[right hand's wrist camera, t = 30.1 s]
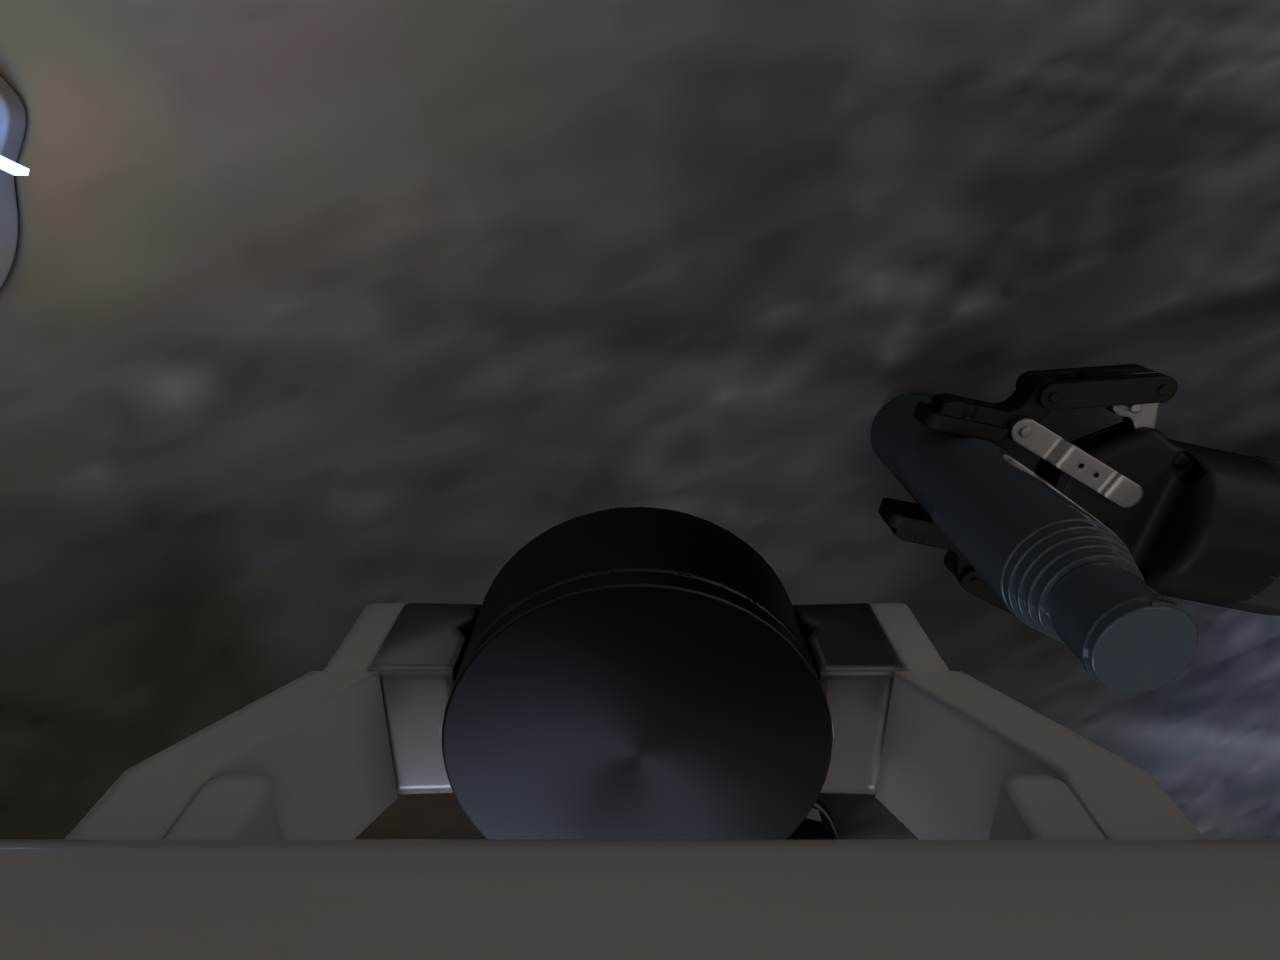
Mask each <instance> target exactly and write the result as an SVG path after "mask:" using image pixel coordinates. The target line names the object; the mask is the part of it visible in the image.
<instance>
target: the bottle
mask: <svg viewBox="0 0 1280 960" xmlns="http://www.w3.org/2000/svg"><path fill="white" fill-rule="evenodd" d="M932 398H933V397H931V396H928V395H924V394H908V395H904V396H901V397H898V398H896V399H894V400H893V401H891V402H890V403H888V404H887V405H886V406H885V407H884V408H883V409H882V410H881V411H880V412H879V414H878V415H877V417H876V419H875V421H874V423H873V426H872V430H871V442H872V446H873V449H874V451H875V453H876V455H877V456H878V457H879V458H880V460H881V461H882V462H883V463H884V464H885V465H886V467H887V468H888V469H889V470H890V471H891V473H892V474H893V475H894V476H895V477H896V478H897V480H898V481H899V482H900V483H901V484H902V485H903V487H904V488H905V489H906V490H907V491H908V492H909V494H910V495H911V496H912V497H913V498H914V499H915V501H916V502H917V503H918V504H919V505H920V507H921V508H922V509H923V510H924V511H925V512H926V514H927V515H928V516H929V517H930V518H931V519H932V521H933V522H934V523H935V524H936V525H937V526H938V528H939V529H940V530H941V531H942V532H943V533H944V535H945V536H946V537H947V538H948V539H949V541H950V542H951V543H952V544H953V545H954V546H955V548H956V549H957V550H958V551H959V552H960V553H961V555H962V556H963V557H964V558H965V559H966V560H967V562H968V563H969V564H970V565H971V566H972V567H973V569H974V570H975V571H976V572H977V573H978V575H979V576H980V577H981V578H982V579H983V580H984V582H985V583H986V584H987V585H988V586H989V587H990V589H991V590H992V591H993V592H994V593H995V594H996V596H997V597H998V598H999V599H1000V600H1001V601H1002V603H1003V604H1004V605H1005V606H1006V607H1007V609H1008V610H1009V611H1010V612H1011V613H1012V614H1013V615H1014V616H1016V617H1017V618H1018V619H1020V620H1021V621H1022V622H1023V623H1024V624H1026V625H1027V626H1029V627H1031V628H1033V629H1035V630H1037V631H1039V632H1041V633H1043V634H1045V635H1047V636H1049V637H1051V638H1053V639H1055V640H1057V641H1059V642H1061V643H1064V644H1066V645H1067V646H1068V647H1069V648H1070V650H1071V651H1072V652H1073V653H1074V654H1075V655H1076V656H1077V657H1078V658H1079V659H1080V661H1081V662H1082V663H1083V664H1084V667H1085V669H1086V671H1087V672H1088V673H1089V674H1090V676H1091V677H1092V678H1093V679H1094V680H1095V681H1097V682H1098V683H1100V684H1101V685H1103V686H1104V687H1107V688H1110V689H1112V690H1115V691H1118V692H1123V693H1143V692H1147V691H1151V690H1154V689H1157V688H1160V687H1162V686H1164V685H1166V684H1168V683H1169V682H1171V681H1172V680H1174V679H1175V678H1177V677H1178V676H1179V675H1180V674H1181V673H1182V672H1183V671H1184V670H1185V669H1186V668H1187V667H1188V665H1189V664H1190V662H1191V661H1192V659H1193V657H1194V655H1195V652H1196V649H1197V644H1198V630H1197V626H1196V622H1195V621H1194V619H1193V618H1192V617H1191V615H1190V614H1189V613H1188V612H1187V611H1185V610H1184V609H1183V608H1182V607H1181V606H1179V605H1178V604H1176V603H1175V602H1174V601H1172V600H1171V599H1167V598H1164V597H1163V596H1162V595H1161V594H1159V593H1158V592H1157V591H1156V590H1154V589H1153V588H1152V587H1151V586H1149V585H1148V584H1147V583H1146V582H1145V581H1144V578H1143V575H1142V574H1141V572H1140V570H1139V568H1138V566H1137V565H1136V563H1135V561H1134V559H1133V557H1132V555H1131V554H1130V551H1129V550H1128V548H1127V546H1126V545H1125V544H1124V542H1123V541H1122V540H1121V539H1120V538H1119V537H1118V536H1117V535H1116V533H1115V532H1114V531H1112V530H1111V529H1110V528H1109V527H1107V526H1106V525H1105V524H1103V523H1102V522H1101V521H1099V520H1098V519H1097V518H1095V517H1094V516H1093V515H1091V514H1090V513H1089V512H1087V511H1086V510H1085V509H1083V508H1082V507H1081V506H1079V505H1078V504H1076V503H1075V502H1074V501H1072V500H1071V499H1070V498H1068V497H1067V496H1066V495H1064V494H1063V493H1062V492H1060V491H1059V490H1058V489H1056V488H1055V487H1054V486H1052V485H1051V484H1050V483H1048V482H1047V481H1046V480H1044V479H1043V478H1042V477H1040V476H1039V475H1038V474H1036V473H1035V472H1033V471H1032V470H1031V469H1029V468H1028V467H1027V466H1025V465H1024V464H1023V463H1021V462H1020V461H1019V460H1017V459H1016V458H1015V457H1013V456H1012V455H1011V454H1009V453H1008V452H1007V451H1005V450H1004V449H1003V448H1001V447H1000V446H999V445H997V444H996V443H994V442H992V441H988V440H984V439H978V438H973V437H969V436H964V435H959V434H954V433H949V432H945V431H940V430H935V429H932V428H929V427H926V426H924V425H923V424H921V423H920V422H919V421H918V420H917V419H916V418H915V417H913V414H914V412H915V409H916V406H917V403H918V402H925V403H931V401H932Z"/></svg>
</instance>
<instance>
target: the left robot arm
mask: <svg viewBox="0 0 1280 960" xmlns="http://www.w3.org/2000/svg"><path fill="white" fill-rule="evenodd" d="M1176 391H1177V382H1176V381H1175V379H1173V378H1172V377H1169V376H1166V375H1164V374H1161V373H1158V372H1156V371H1153V370H1150V369H1148V368H1145V367H1142V366H1140V365H1137V364H1127V365H1112V366H1098V367H1083V368H1068V369H1054V370H1039V371H1028V372H1025V373H1023V374H1022V375H1021V376H1020V377H1019V378H1018V380H1017V382H1016V390H1015V391H1014V393H1013V394H1012V395H1011V396H1010V397H1009V398H1008V399H1007V400H1005V401H1003V402H1001V403H989V402H984V401H979V400H975V399H970V398H965V397H961V396H956V395H951V394H946V393H943V394H937V395H933V398H932V401H931V403H925V402H918V403H917V406H916V409H915V412H914V414H913V417H915V418H916V419H917V420H918V421H919V422H920V423H921V424H923V425H924V426H926V427H929V428H932V429H935V430H940V431H945V432H949V433H954V434H959V435H964V436H969V437H973V438H978V439H984V440H988V441H992V442H997V443H1002V444H1003V442H1004V440H1005V438H1007V439H1011V440H1014V441H1015V442H1017V443H1018V444H1020V445H1022V446H1023V447H1025V448H1026V449H1028V450H1030V451H1031V452H1033V453H1035V454H1036V455H1038V456H1040V457H1041V458H1040V461H1039V463H1038V465H1037V468H1036V470H1035V473H1036V474H1038V475H1039V476H1040V477H1042V478H1043V479H1044V480H1046V481H1047V482H1048V483H1050V484H1051V485H1052V486H1054V487H1055V488H1056V489H1058V490H1059V491H1060V492H1062V493H1063V494H1064V495H1066V496H1067V497H1068V498H1070V499H1071V500H1072V501H1074V502H1075V503H1076V504H1078V505H1079V506H1081V507H1082V508H1083V509H1085V510H1086V511H1087V512H1089V513H1090V514H1091V515H1093V516H1094V517H1095V518H1097V519H1098V520H1099V521H1101V522H1102V523H1103V524H1105V525H1106V526H1107V527H1109V528H1110V529H1111V530H1112V531H1114V532H1115V533H1116V535H1117V536H1118V537H1119V538H1120V539H1121V540H1122V541H1123V542H1124V544H1125V545H1126V546H1127V548H1128V550H1129V551H1130V554H1131V555H1132V557H1133V559H1134V561H1135V563H1136V565H1137V566H1138V568H1139V570H1140V572H1141V574H1142V575H1143V578H1144V581H1145V582H1146V583H1147V584H1148V585H1149V586H1151V587H1152V588H1153V589H1154V590H1156V591H1157V592H1158V593H1159V594H1161V595H1164V596H1170V597H1175V598H1180V599H1185V600H1190V601H1195V602H1200V603H1205V604H1211V605H1216V606H1221V607H1226V608H1232V609H1237V610H1242V611H1247V612H1252V613H1258V614H1265V615H1279V616H1280V462H1279V461H1277V460H1275V459H1271V458H1266V457H1258V456H1256V457H1250V456H1245V455H1241V454H1236V453H1231V452H1226V451H1221V450H1217V449H1212V448H1207V447H1202V446H1198V445H1193V444H1188V443H1184V442H1179V441H1174V440H1170V439H1167V438H1166V437H1165V436H1164V435H1163V434H1162V433H1161V432H1160V431H1158V430H1157V429H1154V427H1155V422H1156V417H1157V412H1158V407H1159V403H1163V402H1166V401H1168V400H1170V399H1171V398H1172V397H1173V396H1174V395H1175V393H1176ZM1090 407H1105V408H1106V409H1107V410H1109V411H1111V412H1113V413H1115V414H1117V415H1119V416H1122V417H1123V422H1121V423H1118V424H1115V425H1113V426H1110V427H1108V428H1105V429H1102V430H1100V431H1097V432H1095V433H1092V434H1089V435H1087V436H1084V437H1082V438H1079V439H1076V440H1074V441H1071V442H1068V441H1066V440H1065V439H1063V438H1062V437H1060V436H1058V435H1057V434H1055V433H1053V432H1052V431H1050V430H1049V429H1047V428H1045V427H1044V426H1042V425H1040V424H1039V423H1040V422H1041V421H1042V420H1043V419H1044V418H1045V416H1046V415H1047V414H1048V413H1049V412H1050V411H1051V410H1060V409H1075V408H1090ZM878 512H879V514H880V515H881V517H882V518H883V520H884V521H885V522H886V524H887V525H888V526H889V528H890V529H891V530H892V532H893V533H894V535H895V536H897V537H899V538H900V539H902V540H903V541H908V542H913V543H914V542H915V543H918V544H923V545H928V546H933V547H938V548H944V549H948V553H947V554H946V556H945V558H944V564H945V565H946V567H947V568H948V569H949V571H951V572H952V573H953V574H954V575H955V577H956V578H957V579H958V581H959V583H960V585H961V586H962V587H963V588H964V590H965V591H967V592H969V593H971V594H973V595H975V596H977V597H979V598H981V599H983V600H985V601H987V602H989V603H991V604H993V605H995V606H997V607H999V608H1001V609H1003V610H1005V611H1007V612H1009V613H1011V612H1010V611H1009V610H1008V609H1007V607H1006V606H1005V605H1004V604H1003V603H1002V601H1001V600H1000V599H999V598H998V597H997V596H996V594H995V593H994V592H993V591H992V590H991V589H990V587H989V586H988V585H987V584H986V583H985V582H984V580H983V579H982V578H981V577H980V576H979V575H978V573H977V572H976V571H975V570H974V569H973V567H972V566H971V565H970V564H969V563H968V562H967V560H966V559H965V558H964V557H963V556H962V555H961V553H960V552H959V551H958V550H957V549H956V548H955V546H954V545H953V544H952V543H951V542H950V541H949V539H948V538H947V537H946V536H945V535H944V533H943V532H942V531H941V530H940V529H939V528H938V526H937V525H936V524H935V523H934V522H933V521H932V519H931V518H930V517H929V516H928V515H927V514H926V512H925V511H924V510H923V509H922V508H921V507H920V505H919V504H915V503H910V502H905V501H900V500H895V499H890V498H883V499H882V502H881V505H880V508H879V511H878ZM1011 614H1012V613H1011ZM786 840H837V835H836V830H835V827H834V823H833V820H832V818H831V816H830V814H829V812H828V810H827V809H826V808H825V807H824V805H823V804H822V803H821V802H819V801H818V800H816V802H815V804H814V805H813V807H812V809H811V810H810V812H809V814H808V815H807V817H806V818H805V819H804V820H803V822H802V823H801V824H800V825H799V827H798V828H797V829H796V830H795V831H794V832H793V833H792V834H791V835H790V836H789V837H788V838H787V839H786Z"/></svg>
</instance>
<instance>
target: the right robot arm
mask: <svg viewBox="0 0 1280 960" xmlns="http://www.w3.org/2000/svg"><path fill="white" fill-rule="evenodd" d="M25 129H26V112H25V108H24V106H23V103H22V101H21V100H20V98H19V97H18V95H17V94H16V93H15V91H14V90H13V89H12V88H11V87H10V86H9V85H8V83H7V82H6V81H5V80H4V79H3V78H2V77H1V76H0V288H1V286H2V285H3V283H4V281H5V280H6V278H7V276H8V274H9V271H10V269H11V266H12V263H13V260H14V256H15V252H16V247H17V240H18V209H17V201H16V193H15V184H14V175H17V176H28V174H29V169H28V168H26V167H24V166H22V165H20V164H17V163H16V161H17V158H18V155H19V152H20V149H21V145H22V142H23V138H24V134H25ZM481 606H482V605H481V604H436V603H409V604H407V603H406V602H399V603H372V604H368V605H367V606H366V607H365V608H364V609H363V611H362V612H361V614H360V615H359V617H358V618H357V620H356V622H355V623H354V625H353V626H352V628H351V629H350V631H349V632H348V634H347V635H346V637H345V638H344V640H343V641H342V643H341V644H340V646H339V647H338V649H337V651H336V652H335V654H334V655H333V657H332V658H331V660H330V661H329V663H328V664H327V666H326V667H325V669H324V670H323V671H311V672H309V673H307V674H305V675H304V676H302V677H300V678H298V679H296V680H294V681H292V682H290V683H289V684H287V685H285V686H283V687H281V688H279V689H277V690H276V691H274V692H272V693H270V694H268V695H266V696H264V697H262V698H261V699H259V700H257V701H255V702H253V703H251V704H249V705H247V706H246V707H244V708H242V709H240V710H238V711H236V712H234V713H232V714H231V715H229V716H227V717H225V718H223V719H221V720H219V721H217V722H216V723H214V724H212V725H210V726H208V727H206V728H204V729H202V730H201V731H199V732H197V733H195V734H193V735H191V736H189V737H187V738H186V739H184V740H182V741H180V742H178V743H176V744H174V745H172V746H171V747H169V748H167V749H165V750H163V751H161V752H159V753H157V754H156V755H154V756H152V757H150V758H148V759H146V760H144V761H142V762H141V763H139V764H137V765H135V766H133V767H131V768H129V769H128V770H126V771H124V772H123V774H122V775H121V776H120V777H119V778H118V779H117V780H116V782H115V783H114V784H113V785H112V786H111V787H110V788H109V789H108V791H107V792H106V793H105V794H104V795H103V796H102V797H101V799H100V800H99V801H98V802H97V803H96V804H95V805H94V807H93V808H92V809H91V810H90V811H89V812H88V813H87V814H86V816H85V817H84V818H83V819H82V820H81V821H80V822H79V824H78V825H77V826H76V827H75V828H74V829H73V830H72V831H71V833H70V834H69V835H68V836H67V837H66V838H65V839H64V840H0V960H1280V839H1217V840H1206V839H1205V838H1204V837H1203V836H1202V834H1201V833H1200V832H1199V831H1198V830H1197V829H1196V827H1195V826H1194V825H1193V824H1192V823H1191V822H1190V820H1189V819H1188V818H1187V817H1186V816H1185V815H1184V814H1183V812H1182V811H1181V810H1180V809H1179V808H1178V807H1177V805H1176V804H1175V803H1174V802H1173V801H1172V800H1171V798H1170V797H1169V796H1168V795H1167V794H1166V793H1165V791H1164V790H1163V789H1162V788H1161V787H1160V786H1159V784H1158V783H1157V782H1156V781H1155V780H1154V779H1153V777H1152V776H1151V775H1150V774H1149V773H1148V772H1147V771H1145V770H1143V769H1141V768H1139V767H1138V766H1136V765H1134V764H1132V763H1130V762H1128V761H1126V760H1125V759H1123V758H1121V757H1119V756H1117V755H1115V754H1114V753H1112V752H1110V751H1108V750H1106V749H1104V748H1102V747H1101V746H1099V745H1097V744H1095V743H1093V742H1091V741H1089V740H1088V739H1086V738H1084V737H1082V736H1080V735H1078V734H1077V733H1075V732H1073V731H1071V730H1069V729H1067V728H1065V727H1064V726H1062V725H1060V724H1058V723H1056V722H1054V721H1052V720H1051V719H1049V718H1047V717H1045V716H1043V715H1041V714H1040V713H1038V712H1036V711H1034V710H1032V709H1030V708H1028V707H1027V706H1025V705H1023V704H1021V703H1019V702H1017V701H1015V700H1014V699H1012V698H1010V697H1008V696H1006V695H1004V694H1003V693H1001V692H999V691H997V690H995V689H993V688H991V687H990V686H988V685H986V684H984V683H982V682H980V681H978V680H977V679H975V678H973V677H971V676H969V675H967V674H966V673H964V672H962V671H950V670H949V669H948V667H947V666H946V664H945V663H944V661H943V660H942V658H941V657H940V655H939V654H938V652H937V650H936V649H935V647H934V646H933V644H932V643H931V641H930V640H929V638H928V637H927V635H926V634H925V632H924V630H923V629H922V627H921V626H920V624H919V623H918V621H917V620H916V618H915V617H914V615H913V614H912V612H911V610H910V609H909V607H908V606H907V605H906V604H904V603H902V602H892V603H861V604H820V605H794V606H793V609H794V612H795V614H796V617H797V620H798V622H799V625H800V628H801V631H802V633H803V636H804V639H805V641H806V644H807V647H808V649H809V652H810V655H811V658H812V660H813V663H814V666H815V668H816V671H817V674H818V677H819V680H820V682H821V685H822V687H823V690H824V693H825V695H826V699H827V703H828V707H829V711H830V715H831V722H832V733H833V741H832V754H831V761H830V765H829V769H828V773H827V777H826V780H825V782H824V785H823V787H822V790H821V792H820V793H851V794H876V798H877V799H878V800H879V801H880V802H881V803H882V804H883V805H884V806H885V807H886V808H887V809H888V810H889V811H890V812H891V813H892V814H893V815H895V816H896V817H897V818H898V819H899V820H900V821H901V822H902V823H903V824H904V825H905V826H906V827H907V828H908V829H909V830H910V831H911V832H912V833H913V834H914V835H915V836H916V837H917V838H918V839H919V840H354V839H355V838H356V837H357V836H358V835H359V834H360V833H361V832H362V831H363V830H364V829H365V828H367V827H368V826H369V825H370V824H371V823H372V822H373V821H374V820H375V819H376V818H377V817H378V816H379V815H380V814H381V813H382V812H383V811H384V810H385V809H387V808H388V807H389V806H390V805H391V804H392V803H393V802H394V801H395V800H396V799H397V798H398V796H397V794H421V793H453V791H452V789H451V786H450V783H449V780H448V777H447V774H446V771H445V766H444V759H443V753H442V724H443V718H444V713H445V707H446V704H447V701H448V699H449V696H450V693H451V690H452V687H453V684H454V681H455V679H456V676H457V673H458V670H459V668H460V665H461V662H462V659H463V656H464V654H465V651H466V648H467V645H468V642H469V640H470V637H471V634H472V631H473V629H474V626H475V623H476V620H477V617H478V615H479V612H480V609H481Z"/></svg>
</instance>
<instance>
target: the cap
mask: <svg viewBox="0 0 1280 960" xmlns="http://www.w3.org/2000/svg"><path fill="white" fill-rule="evenodd" d="M832 741H833V733H832V722H831V715H830V711H829V707H828V703H827V699H826V695H825V693H824V690H823V687H822V685H821V682H820V680H819V677H818V674H817V671H816V668H815V666H814V663H813V660H812V658H811V655H810V652H809V649H808V647H807V644H806V641H805V639H804V636H803V633H802V631H801V628H800V625H799V622H798V620H797V617H796V614H795V612H794V609H793V606H792V604H791V601H790V599H789V597H788V595H787V592H786V590H785V588H784V586H783V585H782V583H781V581H780V580H779V578H778V577H777V575H776V573H775V572H774V570H773V569H772V568H771V567H770V566H769V565H768V563H767V562H766V561H765V560H764V559H763V558H762V556H761V555H759V554H758V553H757V552H756V551H755V550H754V549H753V548H751V547H750V546H749V545H748V544H747V543H746V542H744V541H743V540H741V539H740V538H738V537H737V536H735V535H734V534H732V533H731V532H729V531H728V530H726V529H724V528H722V527H720V526H717V525H715V524H713V523H711V522H709V521H707V520H704V519H701V518H698V517H695V516H692V515H689V514H686V513H682V512H679V511H674V510H667V509H659V508H648V507H628V508H614V509H608V510H602V511H597V512H593V513H589V514H586V515H582V516H579V517H575V518H573V519H571V520H568V521H566V522H563V523H561V524H559V525H556V526H554V527H552V528H551V529H549V530H547V531H546V532H544V533H542V534H540V535H539V536H537V537H535V538H534V539H533V540H532V541H530V542H529V543H528V544H526V545H525V546H524V547H523V548H521V549H520V550H519V551H518V552H517V553H516V554H515V555H514V556H513V557H512V558H511V559H510V560H509V561H508V562H507V563H506V564H505V566H504V567H503V568H502V570H501V571H500V572H499V574H498V575H497V576H496V578H495V579H494V581H493V583H492V584H491V586H490V588H489V590H488V592H487V594H486V596H485V598H484V601H483V604H482V606H481V609H480V612H479V615H478V617H477V620H476V623H475V626H474V629H473V631H472V634H471V637H470V640H469V642H468V645H467V648H466V651H465V654H464V656H463V659H462V662H461V665H460V668H459V670H458V673H457V676H456V679H455V681H454V684H453V687H452V690H451V693H450V696H449V699H448V701H447V704H446V707H445V713H444V718H443V724H442V753H443V759H444V766H445V771H446V774H447V777H448V780H449V783H450V786H451V789H452V791H453V793H454V795H455V797H456V799H457V801H458V803H459V805H460V807H461V809H462V810H463V811H464V813H465V814H466V816H467V817H468V818H469V820H470V821H471V823H472V824H473V825H474V826H475V828H476V829H477V830H478V831H479V832H480V833H481V834H482V835H483V836H484V837H485V838H486V839H487V840H786V839H787V838H788V837H789V836H790V835H791V834H792V833H793V832H794V831H795V830H796V829H797V828H798V827H799V825H800V824H801V823H802V822H803V820H804V819H805V818H806V817H807V815H808V814H809V812H810V810H811V809H812V807H813V805H814V804H815V802H816V800H817V799H818V797H819V794H820V792H821V790H822V787H823V785H824V782H825V780H826V777H827V773H828V769H829V765H830V761H831V754H832Z"/></svg>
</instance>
